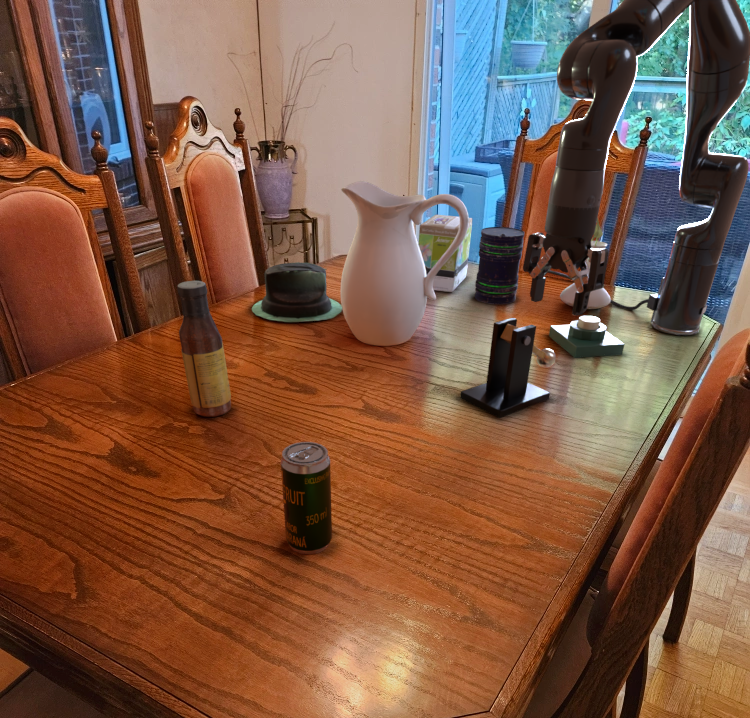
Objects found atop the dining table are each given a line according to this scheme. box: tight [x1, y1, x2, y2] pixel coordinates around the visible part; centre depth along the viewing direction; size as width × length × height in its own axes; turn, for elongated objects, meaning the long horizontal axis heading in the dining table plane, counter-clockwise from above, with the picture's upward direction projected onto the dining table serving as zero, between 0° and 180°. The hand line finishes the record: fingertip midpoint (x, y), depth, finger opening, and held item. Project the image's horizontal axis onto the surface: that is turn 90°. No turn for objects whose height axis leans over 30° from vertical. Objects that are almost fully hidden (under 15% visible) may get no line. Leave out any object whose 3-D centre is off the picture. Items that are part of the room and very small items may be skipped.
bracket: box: [459, 317, 551, 419], centre depth 108 cm, size 12×9×13 cm
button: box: [578, 315, 601, 330], centre depth 130 cm, size 4×4×2 cm
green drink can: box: [280, 441, 333, 555], centre depth 75 cm, size 5×5×12 cm
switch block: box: [548, 319, 626, 359], centre depth 132 cm, size 12×10×4 cm
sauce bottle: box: [176, 280, 232, 418], centre depth 100 cm, size 7×6×20 cm
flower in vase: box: [559, 190, 612, 310], centre depth 146 cm, size 13×11×25 cm
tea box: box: [418, 214, 473, 293], centre depth 163 cm, size 15×10×15 cm, turn 161°
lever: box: [501, 324, 557, 369], centre depth 109 cm, size 14×3×3 cm
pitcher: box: [339, 180, 470, 347], centre depth 126 cm, size 24×17×28 cm
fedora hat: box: [251, 261, 343, 323], centre depth 146 cm, size 15×19×20 cm
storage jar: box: [474, 226, 525, 305], centre depth 153 cm, size 10×10×15 cm
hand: (556, 307), depth 109 cm, fingers open, 8 cm apart
